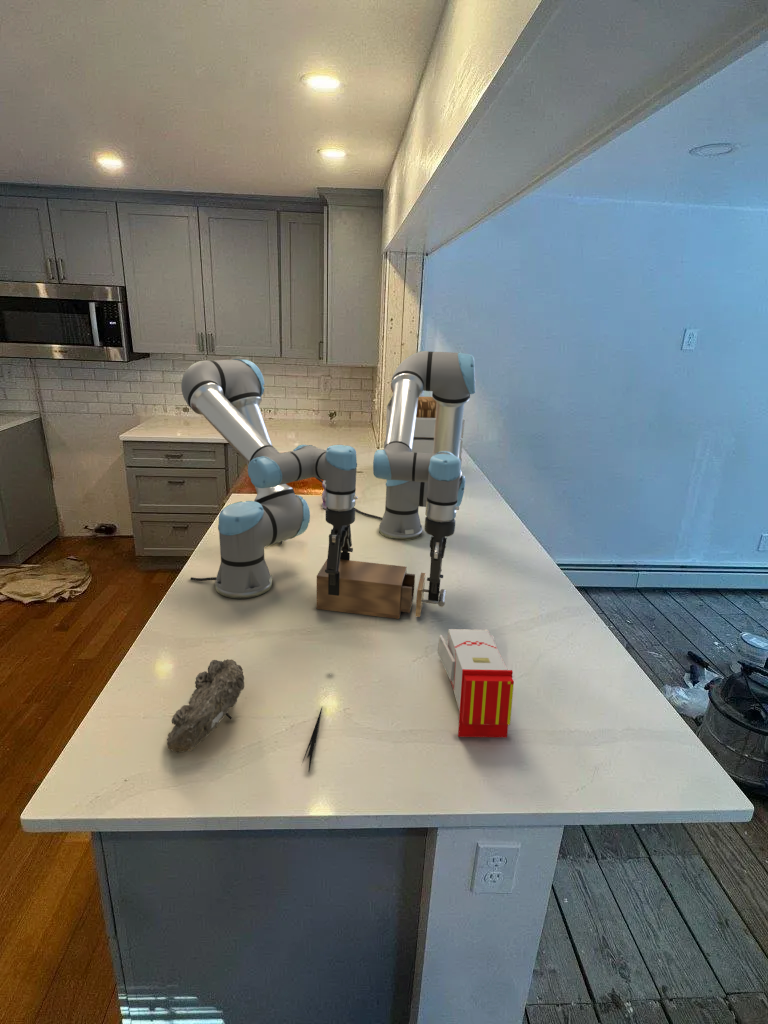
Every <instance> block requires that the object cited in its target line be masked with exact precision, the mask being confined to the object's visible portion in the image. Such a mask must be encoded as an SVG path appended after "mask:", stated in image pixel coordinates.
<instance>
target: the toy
mask: <svg viewBox="0 0 768 1024" xmlns="http://www.w3.org/2000/svg"><path fill="white" fill-rule="evenodd" d="M446 640H447V643H446V641H445V639H444V636H443V635H442V634H439V637H438V646H437V656H438V657H439V659H440V661H441V663H442V666H443V668H444V670H445V672H446V674H447V677H448V679H449V681H450V684H451V687H452V690H453V693H454V697H455V701H456V705H457V708H458V711H459V714H458V715H459V716H458V730H457V731H458V732H457V737H458V738H508V731H509V726H510V725H511V717H512V707H513V697H514V696H513V695H514V684H515V680H514V679H513V673H514V671H513V670H512V669H508V667H507V665H506V662H505V661H504V659H503V658H502V655H501V653H500V651H499V649H498V647H497V643H496V639H495V637H494V635H493V634H491V632H490V631H489V629H467V628H466V629H465V628H463V629H461V628H460V629H459V628H448V630H447V639H446Z"/></svg>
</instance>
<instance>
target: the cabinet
mask: <svg viewBox="0 0 768 1024" xmlns="http://www.w3.org/2000/svg"><path fill="white" fill-rule="evenodd" d="M326 568H327V559H326V560H325V562H324V563H323V565H322V566H321V568H320V570H319V571H318V572H317V575H316V610H321V611H322V610H324V611H331V612H339V613H347V614H353V615H354V614H356V615H364V616H372V617H379V618H387V619H396V620H400V617H401V614H402V612H400V604H401V587H402V584H403V580H404V577H405V573H407V572H408V571H407V569H408V567H407V566H406V565H405V566H403V565H395V564H387V563H386V564H385V563H378V562H368V561H359V560H351V559H350V560H342V559H340V563H339V572H340V575H339V596H336V595H328V573H326V572H325V570H326Z"/></svg>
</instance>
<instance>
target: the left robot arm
mask: <svg viewBox="0 0 768 1024" xmlns="http://www.w3.org/2000/svg"><path fill="white" fill-rule="evenodd" d="M180 387H181V392H182V393H181V394H182V396H183V399H184V401H185V403H186V404H187V406H188V407H189V408H190V409H191V410H192V411H193V412H194V413H195V414H196V415H202V416H203V417H204V418H205V420H207V421H208V423H210V425H211V426H212V427H213V428H214V429H215V430H216V431H217V432H218V433H219V435H221V437H222V438H223V439H224V440H225V441H226V442H227V443H228V445H230V446H231V447H232V448H233V450H234V451H235V452H237V454H238V455H239V456H240V457H241V458H242V459H243V460H244V461H245V462H246V463H245V464H246V466H247V475H248V478H249V479H250V482H251V483H252V485H253V487H254V489H255V491H256V496H255V498H254V500H245V501H235V502H233V503H231V504H228V505H226V506H225V507H223V508H222V509H221V511H220V512H219V515H218V525H217V529H218V535H219V550H220V553H219V554H220V565H219V568H218V571H217V575H216V576H215V577H214V576H212V577H211V576H210V577H192V576H191V577H190V581H195V582H205V581H215V583H214V584H215V591H216V593H218V594H219V595H220V596H223V597H225V598H230V599H237V600H238V599H239V600H241V599H251V598H255V597H259V596H261V595H264V594H265V593H267V592H268V591H270V589H271V588H272V586H273V579H274V578H273V575H272V574H271V572H270V570H269V567H268V564H267V562H266V559H265V547H268V546H272V545H274V544H278V543H280V542H281V541H283V542H284V541H287V540H292V539H295V538H296V537H298V536H301V535H302V534H304V533H305V532H306V531H307V530H308V528H309V524H310V522H311V512H310V508H309V504H308V502H307V500H306V499H305V498H304V497H303V496H301V495H298V494H296V493H295V490H294V488H293V487H292V486H290V485H288V484H289V483H290V484H291V483H293V482H299V481H303V480H307V479H310V478H315V479H316V478H318V479H321V480H322V481H324V480H325V481H326V506H327V507H326V509H325V521H326V523H327V524H329V525H331V526H332V528H331V530H330V533H329V535H328V548H327V559H326V560H327V568H326V570H325V572H326V573H328V595H336V596H339V575H340V572H339V563H340V559H342V560H351V558H350V557H351V553H353V552H354V548H353V547H352V546H353V543H352V541H353V540H352V530H351V525H352V524H354V522H355V520H356V511H355V508H356V500H358V498H359V497H358V495H356V490H357V489H356V487H357V468H358V462H357V461H358V460H357V450H356V448H354V447H353V446H351V445H344V444H332V445H330V446H328V447H326V449H324V448H320V447H317V446H315V445H311V444H309V445H308V444H299V445H298V446H296V447H295V448H294V449H293V450H292V451H286V452H279V451H278V450H277V448H276V447H274V446H273V443H272V441H271V438H270V435H269V432H268V429H267V426H266V423H265V420H264V417H263V414H262V412H261V409H260V406H261V403H262V401H263V399H262V396H263V394H264V392H265V378H264V375H263V373H262V371H261V369H260V368H259V366H257V364H256V363H254V362H253V361H251V360H250V359H241V358H232V359H215V360H214V359H213V360H199V361H196V362H195V363H192V364H191V365H190V366H189V367H188V368H187V369H186V370H185V372H184V373H183V376H182V378H181V383H180ZM318 479H317V480H318Z"/></svg>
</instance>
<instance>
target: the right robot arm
mask: <svg viewBox="0 0 768 1024" xmlns="http://www.w3.org/2000/svg"><path fill="white" fill-rule="evenodd" d="M475 365H476V364H475V357H474V356H473V354H470V353H464V352H459V351H458V352H453V351H452V352H451V351H430V350H421V351H417V352H414V353H412V354H411V355H409V356H408V357H406V358H405V359H403V361H401V362H400V364H399V365H398V366H397V367H396V369H395V370H394V372H393V374H392V377H391V381H390V390H391V392H392V395H391V398H392V402H391V408H390V414H389V421H388V427H387V433H386V432H385V438H386V439H385V438H384V442H385V445H384V444H383V449H377V450H375V451H374V454H373V463H372V473H373V476H374V477H375V478H377V479H381V480H385V481H386V482H385V487H386V488H385V489H386V490H385V504H384V505H385V507H384V508H385V509H384V513H383V515H382V517H381V516H378V515H374V514H370V513H368V512H364V511H361V510H359V509H357V508H356V507H354V508H355V512H357V513H359V514H361V515H364V516H365V517H366V516H367V517H370V518H373V519H378V520H381V522H379V525H378V533H379V534H380V535H381V536H382V537H385V538H387V539H389V540H395V541H410V540H415V539H418V538H420V537H421V536H422V535H423V528H424V532H425V534H427V535H430V540H429V548H430V550H429V551H430V552H429V557H430V564H429V565H430V568H429V577H426V582H428V583H429V584H428V590H429V592H427V593H428V594H427V600H432V601H438V602H439V595H440V594H439V591H440V590H441V589H440V588H441V579H444V574H441V573H442V566H443V565H442V564H443V559H444V557H445V551H446V547H447V540H448V538H447V537H451V536H454V534H455V531H456V517H457V511H459V510H460V506H461V505H462V502H463V497H464V493H465V489H466V477H465V475H463V472H462V462H461V460H460V459H459V452H460V442H461V440H462V438H461V432H462V422H463V419H464V412H465V411H464V410H465V404H466V403H468V402H469V401H470V398H471V395H474V394H476V367H475ZM423 392H432V393H431V397H433V399H434V400H435V401H436V402H437V404H436V419H435V433H434V447H433V454H430V453H416V452H412V447H413V439H414V431H415V423H416V415H417V407H418V399H419V397H421V396H422V393H423ZM315 479H316V480H318V481H319V482H320V483H321V484H322V483H323V481H324V480H321V479H318V478H315ZM420 507H421V508H422V507H423V508H425V512H424V513H425V518H424V527H423V525H422V524H421V518H420V515H419V508H420Z"/></svg>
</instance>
